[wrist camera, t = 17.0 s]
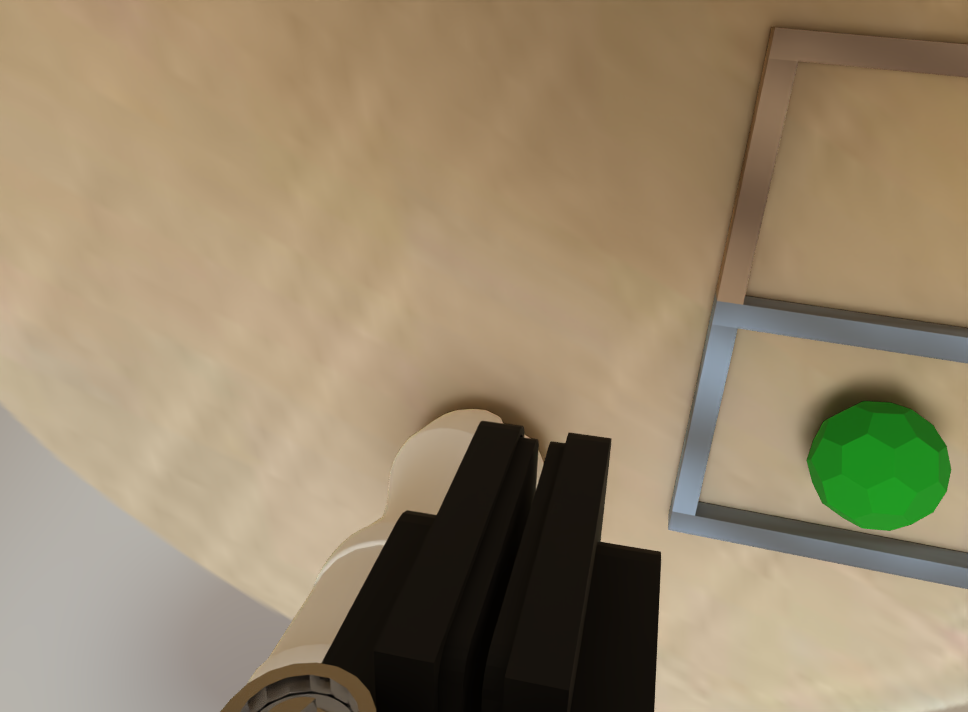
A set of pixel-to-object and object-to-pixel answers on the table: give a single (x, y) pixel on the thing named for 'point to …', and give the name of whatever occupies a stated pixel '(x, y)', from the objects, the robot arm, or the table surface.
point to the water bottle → (379, 534)
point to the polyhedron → (879, 465)
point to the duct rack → (805, 320)
